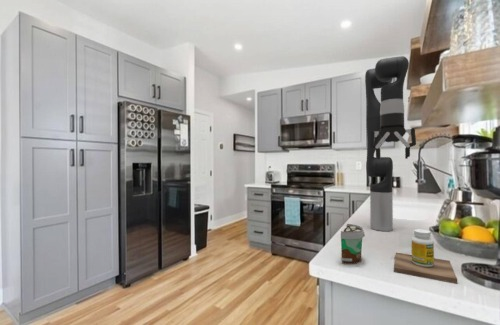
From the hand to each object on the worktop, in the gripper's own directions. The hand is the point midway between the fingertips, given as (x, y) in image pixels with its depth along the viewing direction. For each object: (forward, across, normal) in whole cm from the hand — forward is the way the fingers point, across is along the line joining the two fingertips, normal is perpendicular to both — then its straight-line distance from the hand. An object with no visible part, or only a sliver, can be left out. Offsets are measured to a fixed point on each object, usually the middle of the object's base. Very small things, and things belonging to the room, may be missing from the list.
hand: (392, 158), depth 91 cm
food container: (+32, +10, +18) cm, 38 cm away
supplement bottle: (+31, -8, +15) cm, 35 cm away
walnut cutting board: (+32, -8, +15) cm, 36 cm away
